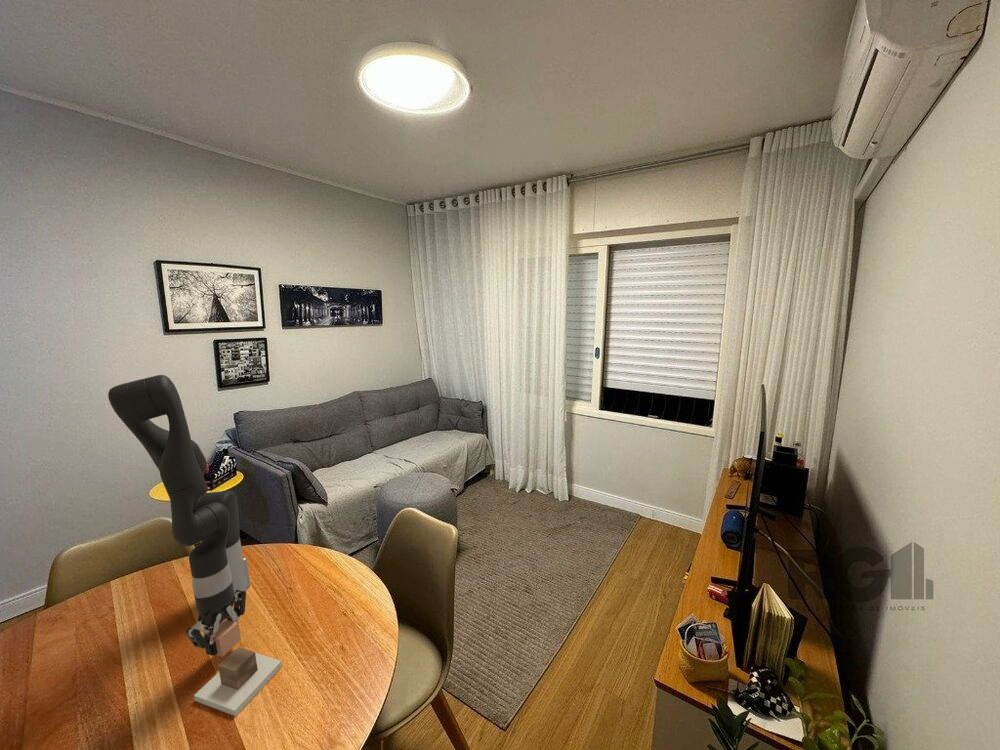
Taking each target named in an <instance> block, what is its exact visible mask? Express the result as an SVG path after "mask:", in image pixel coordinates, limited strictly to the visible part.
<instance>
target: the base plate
mask: <svg viewBox="0 0 1000 750" xmlns="http://www.w3.org/2000/svg"><path fill="white" fill-rule="evenodd" d="M255 655H256V662H257V668H258V670H257V671H256V672H255V673H254V674H253V675H252V676H251V677H250V678H249V679H248V681H247V682H246V683H245V684H244V685H243V686H242V687H241V688H240V689H239V690H236V689H233V688H230V687H228V686H225V685H222V684H221V679H220V674H219V672H217V673H216V674H215V675H214V676H213V677H212V678H211V679H210V680H209V681H207V682H206V683H205V684H204V685H203V686H202V687H201V688H200V689H199V690H198V691H197V692H196V693H194V694H193V698H194V701H195V702H197V703H199V704H202V705H205V706H208V707H210V708H213V709H216V710H218V711H220V712H223V713H226V714H229V715H232V716H234V717H237V716H238V715H239V714H240V713H241V712H242V710H244V709H245V707H246V706H247V705H248V704H249V703H250V702H251V701H252V700H253V699H254V698H255V697H256V695H257V694H258V693H259V692H261V690H262V688H264V686H266V685H267V683H269V681H270V680H271V679H272V678H273V677H274V676H275V675H276V674H277V673H278V671H280V669H282V667H283V663H282V660H279V659H276V658H273V657H270V656H267V655H263V654H260V653H257V652H255Z"/></svg>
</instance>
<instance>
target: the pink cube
mask: <svg viewBox="0 0 1000 750" xmlns="http://www.w3.org/2000/svg"><path fill="white" fill-rule="evenodd" d="M241 640H242V638H241V631H240V624H239V622H238V623H237V622H233V621H229V620H227V619H225V620H223V621H222V622H221V623H220V624H219V627H218V632H216V635H215V640H214V641H215V642H216V647H217V654H216V655H215V656H218V657H222V658H223V657H224V656H225V655H227V653H229V652H230V651H231V650H232V649H233V647H235V646H236V645H237V644H238V643H240V641H241Z"/></svg>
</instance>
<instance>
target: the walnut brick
mask: <svg viewBox="0 0 1000 750" xmlns="http://www.w3.org/2000/svg"><path fill="white" fill-rule="evenodd" d="M255 653H256V651H253V650H250V649H246V648H243V647H241V646H238V647H237V648H236V649H235V650H234V651H233V652H232V653H230V654H229V655H228V656H227V657H226V658H225V659H224V660H223V661H222V662H221V663H219V664H218V666H217V667H218V673H219V674H220V679H221V684H222V685H225V686H228V687H230V688H233V689H236V690H239V689H240V688H241V687H242V686H243V685H244V684H245V683H246V682H247V681H248V679H249V678H250V677H251V676H252V675H253V674H254V673H255V672H256V671H257V670H258V668H257V662H256V655H255Z"/></svg>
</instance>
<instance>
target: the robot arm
mask: <svg viewBox="0 0 1000 750" xmlns="http://www.w3.org/2000/svg"><path fill="white" fill-rule="evenodd" d="M107 393H108V394H107V397H108V401H109V403H110V406H111V408H112V409H113V411H114V413H115V414H116V415H117V417H118V418H119V419H120V420H121V422H122V423H123V424H124V425H125V426H126V428H128V430H130V432H131V433H132V434H133V436H134V437H136V439H137V440H138V441H139V442H140V443H141V445H142V446H143V448H144V449H145V451H146V452H147V454H148V456H150V458H151V460H152V461H153V463H154V465H155V466H156V468H157V469H158V471H159V475H160V479H161V482H162V483H163V486H164V488H165V490H166V493H167V496H168V498H169V501H170V512H171V529H172V530H171V531H172V536H173V538H174V539H175V541H176V542H177V543H178V544H180V545H182V546H185V547H190V546H194V545H196V544H198V545H196V546H195V547H194V548H193V549H192V550H191V551H190V553H189V556H188V562H189V568H190V572H191V585H192V586H191V587H192V591H193V597H194V601H195V607H196V611H197V613H198V618H197V622H196V623H195V624H194V625H193V626H192V627H188V628H187V629H186V630H185V634H186V635H187V637H188V639H189V640H190V642H191V644H192V645H193V646H194V647H196V648H200V649H203V650H205V654H206V655H209V656H213V657H215V656H217V655H216V654H217V647H216V642H215V641H214V640H215V635H216V632H218V627H219V624H220V623H221V622H222V621H223V620H229V621H233V622H237V623H238V624H239V620H240V617H241V616H243V615H244V614H245V612H246V600H247V599H246V598H247V590H248V588H250V587H251V581H250V580H251V579H250V573H249V566H248V560H247V557H244V556H243V549H242V543H241V537H240V536H241V535H240V518H239V516H240V515H239V504H238V497H237V494H236V493H235V492H234V491H232V490H222V491H213V492H208V491H209V489H208V488H209V487H208V484H207V482H206V479H205V477H204V475H205V473H206V471H207V468H208V467H207V465H208V462H207V458H206V456H205V455H204V453H203V451H202V450H201V447H200V446H199V444H198V443H197V442H196V441H194V440H193V439H192V438H191V433H190V429H189V426H188V421H187V418H186V415H185V410H184V407H183V404H182V400H181V397H180V394H179V392H178V389H177V387H176V386H175V384H174V382H173V381H172V379H171V378H170V377H168V375H165V374H157V375H153V376H148V377H144V378H142V379H141V378H140V379H137V380H133V381H129V382H126V383H125V382H124V383H121V384H117V385H115V386H113V387H111V388H110V389H109V391H108V392H107ZM162 416H167V420H168V427H169V428H168V429H165V428H162V427H160V426H158V425H157V424H155V423H154V422H153V421H151V420H152V419H154V418H158V417H159V418H160V417H162Z"/></svg>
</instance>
